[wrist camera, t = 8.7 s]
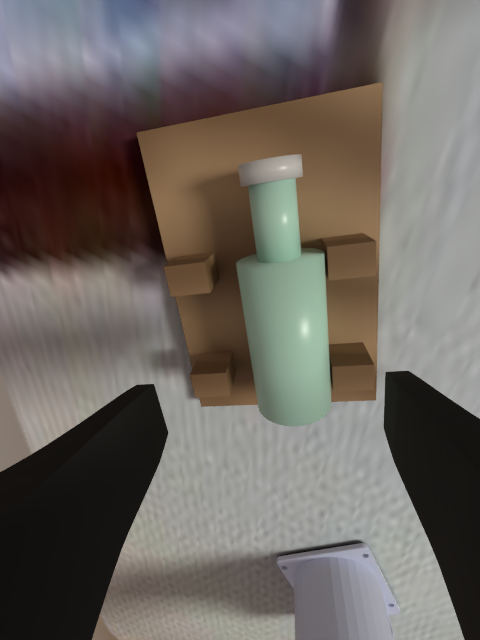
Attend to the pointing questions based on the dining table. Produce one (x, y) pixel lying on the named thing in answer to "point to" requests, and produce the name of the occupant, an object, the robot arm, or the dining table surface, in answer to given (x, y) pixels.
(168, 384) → the dining table surface
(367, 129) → the bottle cradle
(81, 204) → the dining table surface
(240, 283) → the bottle
